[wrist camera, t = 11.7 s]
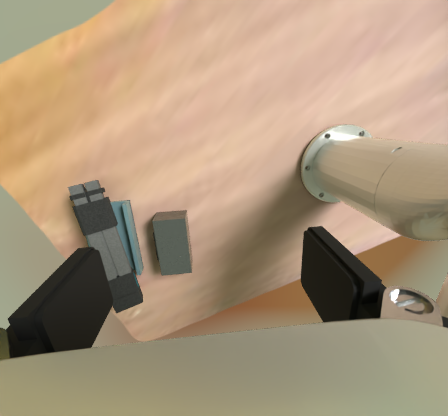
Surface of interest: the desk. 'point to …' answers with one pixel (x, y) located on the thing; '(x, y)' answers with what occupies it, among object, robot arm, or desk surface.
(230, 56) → the desk surface
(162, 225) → the block
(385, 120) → the desk surface
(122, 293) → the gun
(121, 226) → the cradle tray
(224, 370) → the robot arm
